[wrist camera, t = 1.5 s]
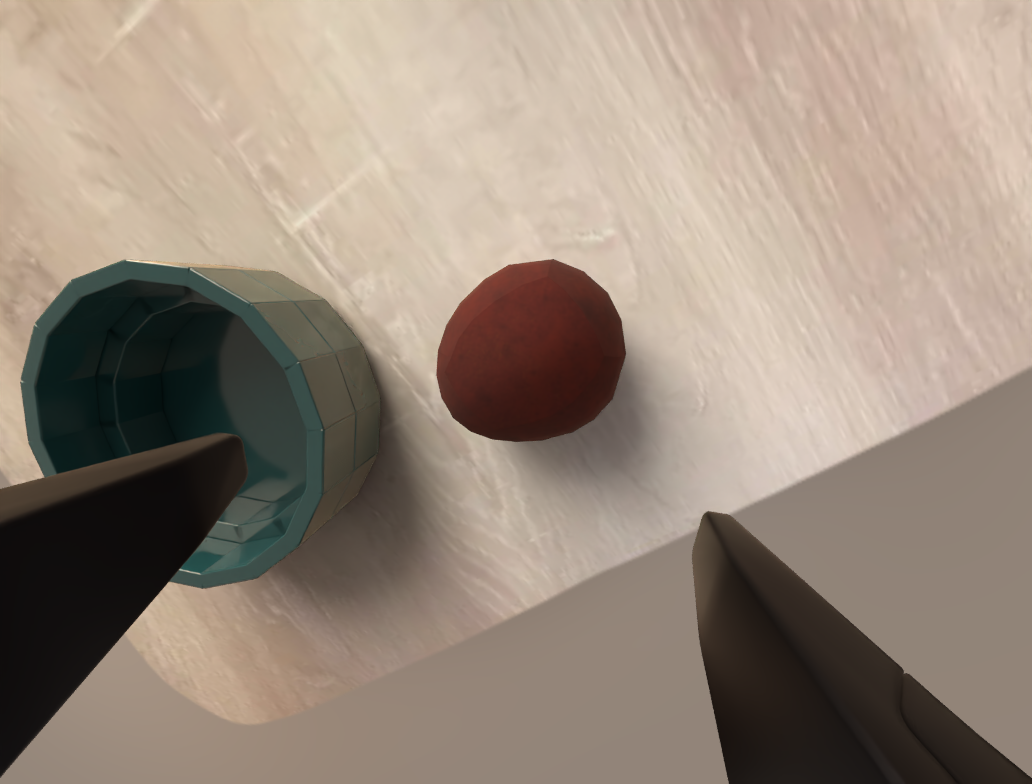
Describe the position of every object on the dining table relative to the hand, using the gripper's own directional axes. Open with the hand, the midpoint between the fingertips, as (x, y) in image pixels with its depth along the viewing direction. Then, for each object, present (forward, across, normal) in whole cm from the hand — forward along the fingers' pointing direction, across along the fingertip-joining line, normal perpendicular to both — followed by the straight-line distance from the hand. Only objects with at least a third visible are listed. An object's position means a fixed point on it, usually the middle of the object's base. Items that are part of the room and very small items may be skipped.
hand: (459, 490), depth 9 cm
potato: (+15, 0, +2) cm, 15 cm away
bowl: (+14, +15, +7) cm, 22 cm away
